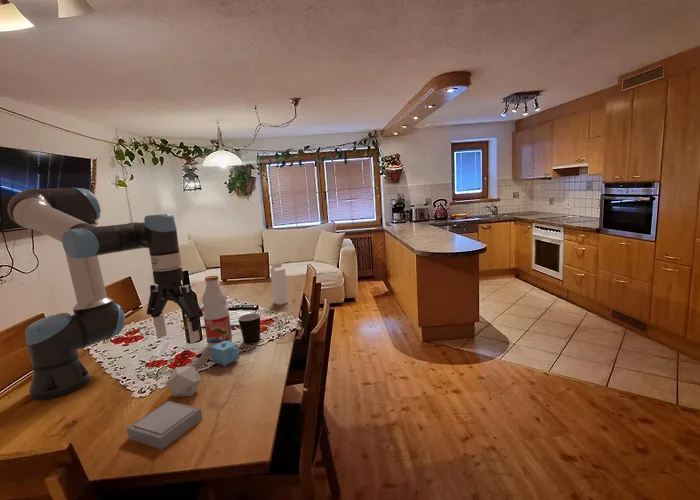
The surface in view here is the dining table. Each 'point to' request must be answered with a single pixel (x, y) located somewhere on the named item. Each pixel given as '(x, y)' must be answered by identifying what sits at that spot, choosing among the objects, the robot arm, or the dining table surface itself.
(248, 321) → the black cup
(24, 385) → the dining table surface
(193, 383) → the die
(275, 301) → the milk
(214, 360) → the blue spouted cube
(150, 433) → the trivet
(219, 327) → the fruit juice
